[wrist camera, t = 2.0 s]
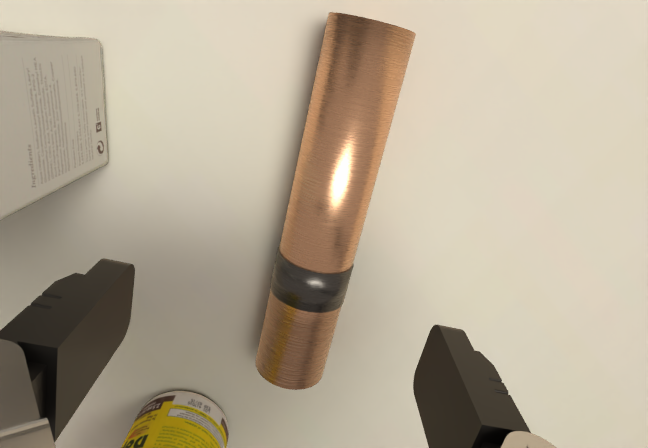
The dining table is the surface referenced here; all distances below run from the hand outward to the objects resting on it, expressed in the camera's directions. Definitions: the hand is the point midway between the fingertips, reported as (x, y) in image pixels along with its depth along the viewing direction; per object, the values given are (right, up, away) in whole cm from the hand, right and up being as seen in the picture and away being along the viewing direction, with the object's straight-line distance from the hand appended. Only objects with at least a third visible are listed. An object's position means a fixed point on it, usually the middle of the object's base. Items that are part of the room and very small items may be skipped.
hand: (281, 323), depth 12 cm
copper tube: (0, +4, +10) cm, 11 cm away
